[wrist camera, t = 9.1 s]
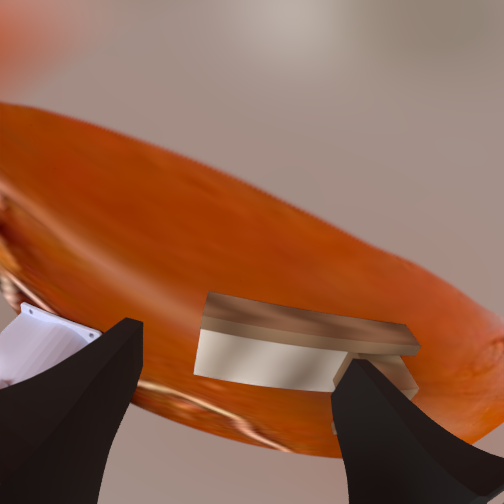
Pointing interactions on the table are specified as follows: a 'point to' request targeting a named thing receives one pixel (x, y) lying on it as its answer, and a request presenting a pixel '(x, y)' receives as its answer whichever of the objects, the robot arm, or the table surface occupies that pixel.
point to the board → (287, 343)
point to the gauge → (388, 366)
